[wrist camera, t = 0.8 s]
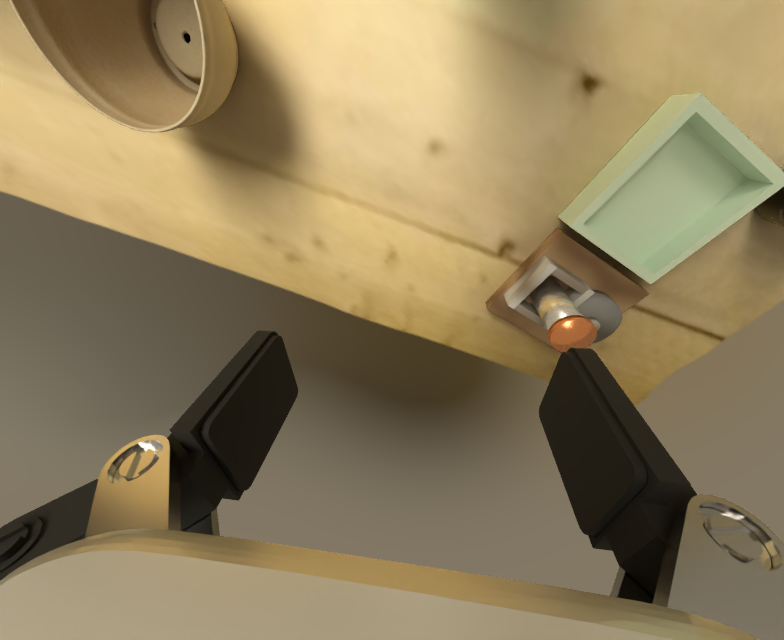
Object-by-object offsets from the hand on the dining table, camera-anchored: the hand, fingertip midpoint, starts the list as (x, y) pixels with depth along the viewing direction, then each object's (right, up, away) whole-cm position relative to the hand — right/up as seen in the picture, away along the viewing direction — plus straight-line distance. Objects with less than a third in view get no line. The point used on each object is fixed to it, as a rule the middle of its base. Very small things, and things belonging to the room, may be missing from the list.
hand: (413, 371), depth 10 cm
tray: (+30, +17, +24) cm, 42 cm away
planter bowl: (-22, +33, +21) cm, 45 cm away
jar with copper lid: (+21, +6, +30) cm, 37 cm away
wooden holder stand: (+25, +6, +33) cm, 41 cm away
